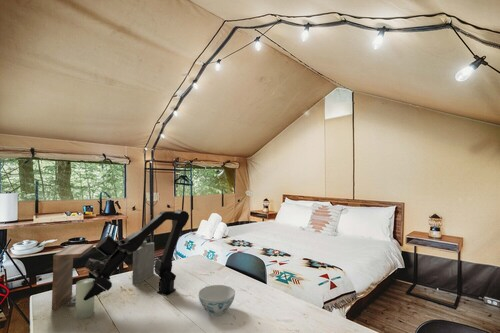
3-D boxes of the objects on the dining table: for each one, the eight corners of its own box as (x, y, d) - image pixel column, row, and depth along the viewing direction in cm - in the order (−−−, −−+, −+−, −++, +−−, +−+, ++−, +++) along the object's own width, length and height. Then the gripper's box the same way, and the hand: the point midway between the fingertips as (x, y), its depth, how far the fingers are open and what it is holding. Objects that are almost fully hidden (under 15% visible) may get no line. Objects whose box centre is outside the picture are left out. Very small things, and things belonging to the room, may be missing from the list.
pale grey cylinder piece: (97, 312, 107) (98, 279, 108) (82, 320, 101) (83, 285, 102) (86, 309, 110) (87, 277, 110) (71, 316, 104) (72, 283, 104)
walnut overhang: (101, 290, 127) (103, 243, 128) (90, 306, 111) (91, 253, 112) (68, 293, 124) (69, 245, 124) (51, 310, 108) (53, 255, 109)
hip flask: (136, 285, 134) (137, 245, 134) (129, 284, 135) (130, 244, 135) (154, 273, 149) (155, 238, 150) (148, 273, 150) (149, 237, 151)
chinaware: (192, 309, 110) (192, 290, 110) (222, 299, 119) (223, 282, 119) (209, 326, 98) (209, 305, 98) (242, 313, 107) (242, 294, 108)
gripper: (95, 246, 116) (63, 277, 109) (103, 256, 102) (67, 293, 95) (114, 260, 121) (85, 291, 114) (124, 272, 106) (92, 308, 99)
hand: (82, 295), depth 105 cm, fingers open, 9 cm apart
